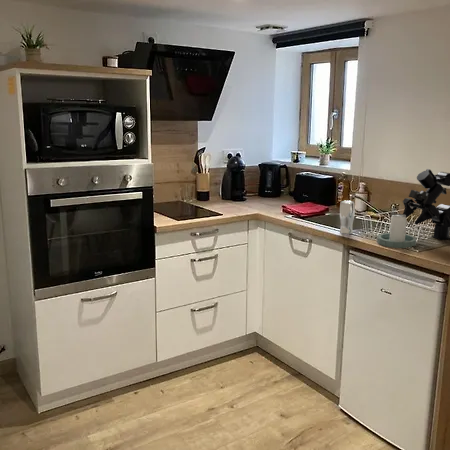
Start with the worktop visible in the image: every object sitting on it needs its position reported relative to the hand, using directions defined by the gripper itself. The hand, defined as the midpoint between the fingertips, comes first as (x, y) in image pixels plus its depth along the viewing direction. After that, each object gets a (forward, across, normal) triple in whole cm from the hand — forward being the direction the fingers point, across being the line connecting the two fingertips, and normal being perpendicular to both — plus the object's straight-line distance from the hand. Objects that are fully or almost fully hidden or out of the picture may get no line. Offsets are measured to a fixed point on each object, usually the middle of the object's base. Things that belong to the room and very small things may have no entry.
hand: (408, 221), depth 222 cm
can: (+10, 0, +2) cm, 10 cm away
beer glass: (+18, -24, -5) cm, 30 cm away
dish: (+10, 0, +3) cm, 11 cm away
